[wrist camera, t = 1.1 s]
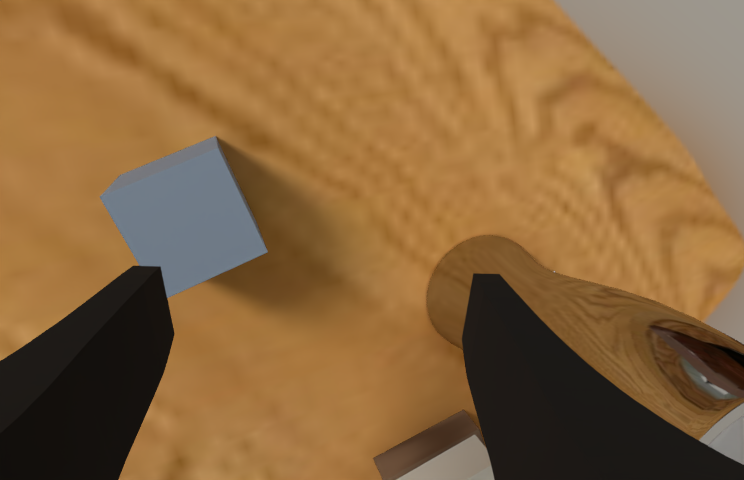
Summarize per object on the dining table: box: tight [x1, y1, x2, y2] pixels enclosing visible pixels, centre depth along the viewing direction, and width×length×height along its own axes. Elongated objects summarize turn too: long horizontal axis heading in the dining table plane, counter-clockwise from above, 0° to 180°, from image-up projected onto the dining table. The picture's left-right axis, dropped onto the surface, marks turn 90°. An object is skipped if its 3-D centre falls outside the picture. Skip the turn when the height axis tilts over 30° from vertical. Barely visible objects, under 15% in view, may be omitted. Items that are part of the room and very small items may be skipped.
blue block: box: [100, 136, 268, 298], centre depth 20 cm, size 4×4×4 cm
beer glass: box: [427, 235, 744, 465], centre depth 21 cm, size 7×7×15 cm
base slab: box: [373, 410, 486, 480], centre depth 29 cm, size 6×6×2 cm
